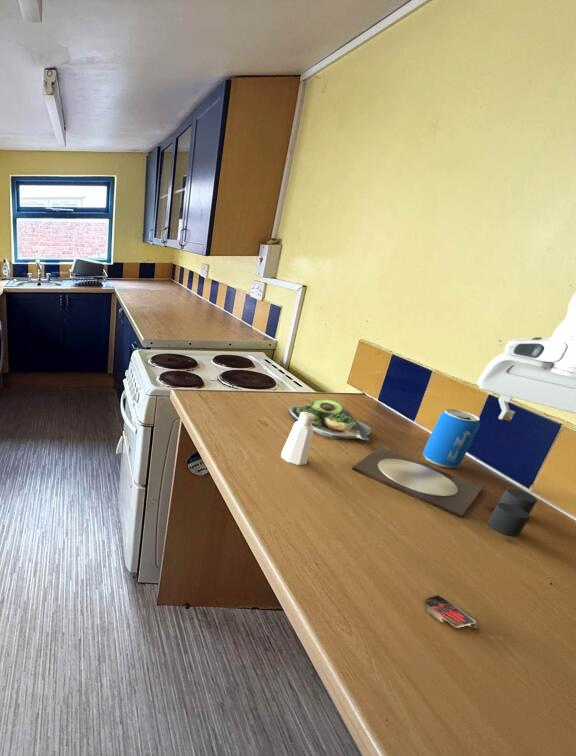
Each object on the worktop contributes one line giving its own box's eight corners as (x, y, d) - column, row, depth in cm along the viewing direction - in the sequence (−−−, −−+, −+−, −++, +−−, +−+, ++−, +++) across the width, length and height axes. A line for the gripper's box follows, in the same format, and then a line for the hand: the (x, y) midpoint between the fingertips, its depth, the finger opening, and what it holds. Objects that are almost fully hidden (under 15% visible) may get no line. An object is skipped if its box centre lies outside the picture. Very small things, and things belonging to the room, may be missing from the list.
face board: (481, 489, 82) (483, 486, 82) (461, 518, 73) (463, 514, 73) (379, 449, 95) (380, 446, 95) (351, 469, 87) (352, 466, 86)
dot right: (520, 530, 71) (532, 512, 69) (516, 539, 69) (528, 521, 67) (489, 517, 74) (500, 499, 72) (485, 525, 72) (495, 507, 70)
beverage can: (430, 466, 90) (452, 418, 85) (415, 451, 95) (436, 406, 91) (464, 472, 88) (490, 423, 83) (448, 457, 94) (471, 411, 89)
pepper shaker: (275, 456, 90) (288, 412, 85) (287, 449, 93) (300, 406, 89) (300, 468, 86) (315, 422, 82) (311, 460, 89) (327, 416, 85)
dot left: (528, 514, 75) (538, 497, 74) (524, 522, 73) (535, 504, 72) (498, 502, 78) (508, 485, 77) (494, 509, 76) (504, 492, 75)
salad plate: (394, 445, 98) (402, 429, 96) (329, 447, 95) (335, 430, 93) (335, 410, 115) (340, 395, 113) (278, 410, 113) (282, 395, 111)
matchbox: (433, 593, 57) (434, 591, 57) (480, 624, 53) (482, 621, 53) (417, 606, 55) (418, 603, 55) (465, 639, 51) (467, 636, 51)
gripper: (698, 372, 58) (641, 453, 64) (503, 336, 74) (469, 405, 79) (700, 379, 55) (640, 465, 60) (495, 340, 70) (461, 411, 75)
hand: (542, 430), depth 70 cm, fingers open, 8 cm apart
